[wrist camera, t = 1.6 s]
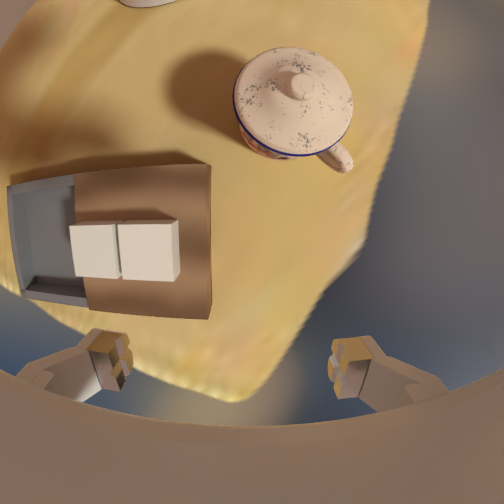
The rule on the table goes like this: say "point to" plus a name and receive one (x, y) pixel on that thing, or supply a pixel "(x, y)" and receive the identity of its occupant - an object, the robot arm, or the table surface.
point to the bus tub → (45, 240)
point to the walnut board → (153, 208)
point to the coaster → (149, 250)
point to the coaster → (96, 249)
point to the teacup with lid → (294, 107)
